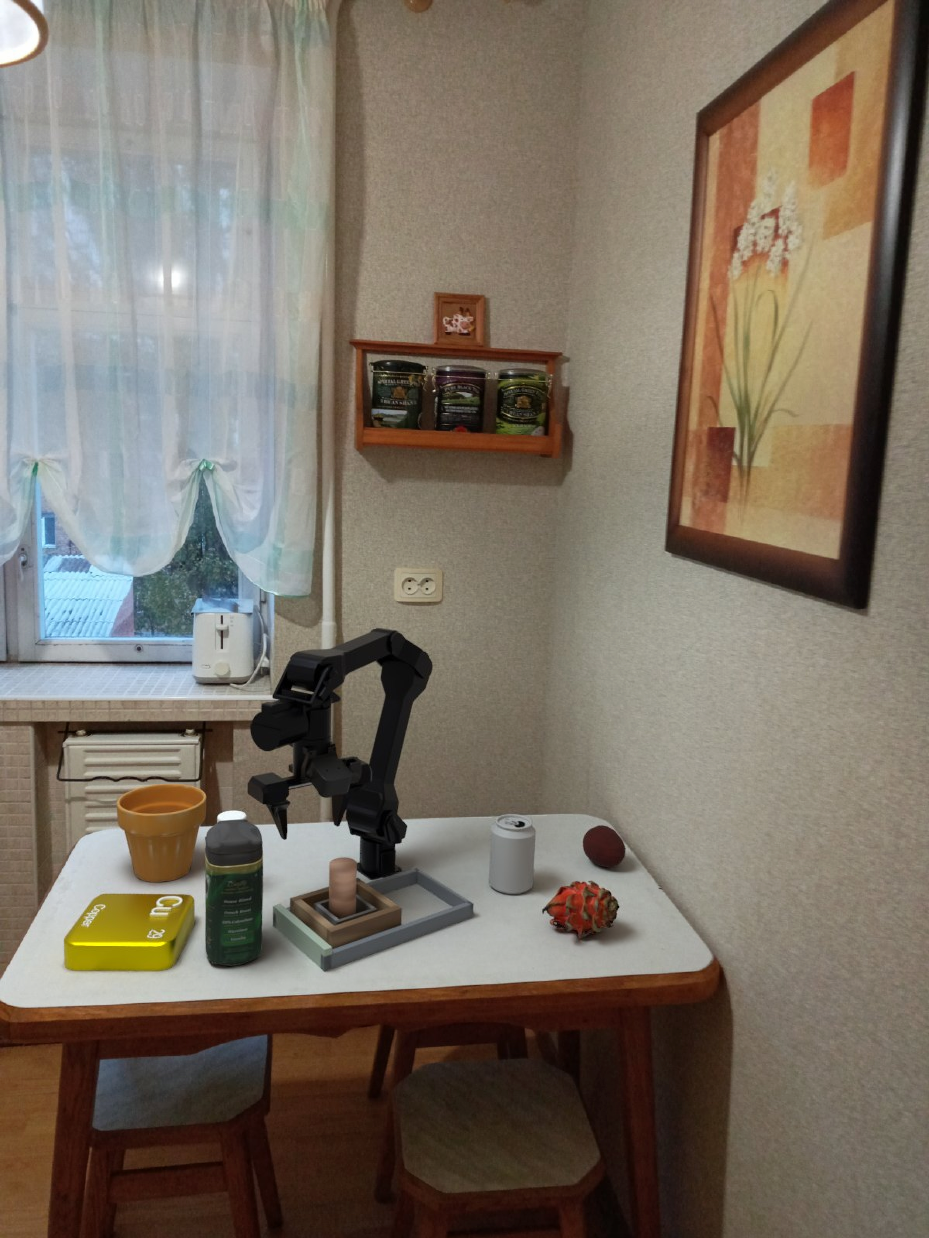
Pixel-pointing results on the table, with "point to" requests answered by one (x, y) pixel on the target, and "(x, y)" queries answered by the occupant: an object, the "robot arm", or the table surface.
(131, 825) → the flower pot
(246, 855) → the green labelled bottle
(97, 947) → the element tile
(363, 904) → the crate
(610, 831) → the passion fruit
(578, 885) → the dragon fruit
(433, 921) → the bay
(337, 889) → the handle peg
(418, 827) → the table surface
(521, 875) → the can
